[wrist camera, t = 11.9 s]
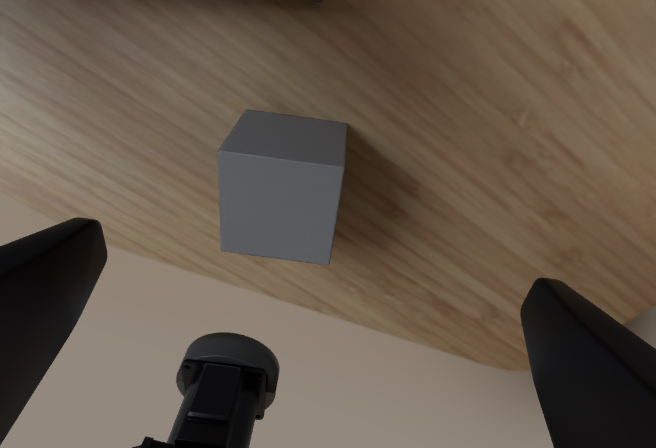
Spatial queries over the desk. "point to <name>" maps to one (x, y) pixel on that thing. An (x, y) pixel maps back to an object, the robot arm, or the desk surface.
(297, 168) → the grey block
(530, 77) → the desk surface
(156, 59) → the desk surface
